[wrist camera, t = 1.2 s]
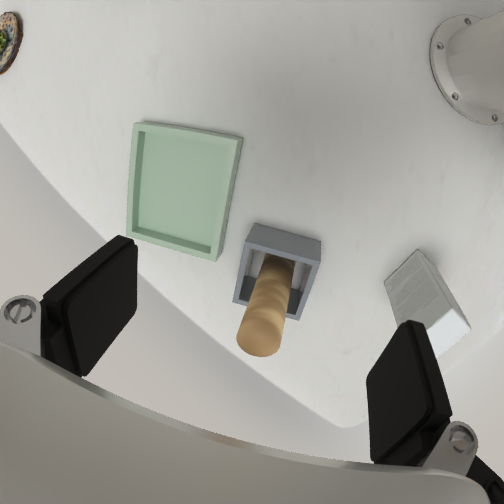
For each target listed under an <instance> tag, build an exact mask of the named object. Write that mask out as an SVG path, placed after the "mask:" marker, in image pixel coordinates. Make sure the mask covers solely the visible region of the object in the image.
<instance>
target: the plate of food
mask: <svg viewBox="0 0 504 504" xmlns="http://www.w3.org/2000/svg"><path fill="white" fill-rule="evenodd" d="M22 38H23V33H22V32H20V31H19V29H18V19H17V18H16V16H15V14H14V13H12V12H5V13H4V14H3V15H1V16H0V75H1V74H3V73H4V72H6V71H7V70H8V68H9V67H10V66H11V65H12V63H13V62H14V60H15V58H16V56H17V53H18V51H19V48H20V45H21V44H20V43H21V40H22Z"/></svg>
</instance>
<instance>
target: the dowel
mask: <svg viewBox="0 0 504 504" xmlns="http://www.w3.org/2000/svg"><path fill="white" fill-rule="evenodd" d="M294 266H295V260H291V259H287V258H284V257H280V256H276V255H273V254H269V253H267V254H266V256H265V258H264V261H263V264H262V267H261V270H260V272H259V275H258V278H257V281H256V284H255V286H254V289H253V292H252V295H251V297H250V300H249V303H248V306H247V308H246V311H245V314H244V317H243V319H242V322H241V325H240V328H239V330H238V333H237V337H236V338H237V343H238V345H239V346H240V348H241V349H242V350H244V351H245V352H246V353H248V354H250V355H253V356H258V357H266V356H270V355H272V354H274V353H276V352H277V351H278V349H279V347H280V343H281V338H282V333H283V328H284V322H285V317H286V311H287V306H288V300H289V295H290V289H291V283H292V277H293V272H294Z"/></svg>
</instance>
